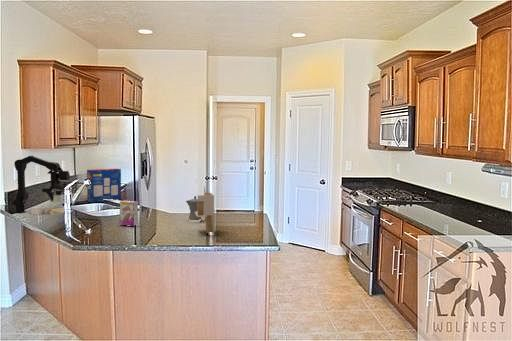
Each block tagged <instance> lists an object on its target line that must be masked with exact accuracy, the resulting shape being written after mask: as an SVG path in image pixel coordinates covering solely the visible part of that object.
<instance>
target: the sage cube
mask: <svg viewBox="0 0 512 341" xmlns="http://www.w3.org/2000/svg"><path fill="white" fill-rule="evenodd" d="M60 202H61V195H56V194H53V201H51V199H50V198H49V203H54V204H55V203H60Z"/></svg>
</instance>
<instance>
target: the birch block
mask: <svg viewBox="0 0 512 341" xmlns="http://www.w3.org/2000/svg"><path fill="white" fill-rule="evenodd" d="M64 208H65V207H60V206H55V207H54V206H53V207H47V208H45V209H44V214H45V215H52V216H56V215H62V214H65V213H64Z"/></svg>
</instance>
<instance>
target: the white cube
mask: <svg viewBox="0 0 512 341" xmlns="http://www.w3.org/2000/svg"><path fill="white" fill-rule="evenodd" d="M42 210H43V208H42V206H32V207H30V215H35V216H36V215H41V214H43V213H42V212H43V211H42Z"/></svg>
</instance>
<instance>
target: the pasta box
mask: <svg viewBox="0 0 512 341" xmlns="http://www.w3.org/2000/svg"><path fill="white" fill-rule="evenodd" d="M87 179H89V180H90V182H91V185H89V186H86V188H87V189H86V191H87V192H86V194H87V195H86V197H87V199H86V200H87V202H90V203H95V202H96V201H98V202H101V201H100V200H103V199H113V200H112V201H117V200H122V169H121V168H100V169H94V168H93V169H87V170H86V180H87ZM96 203H97V202H96Z"/></svg>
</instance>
